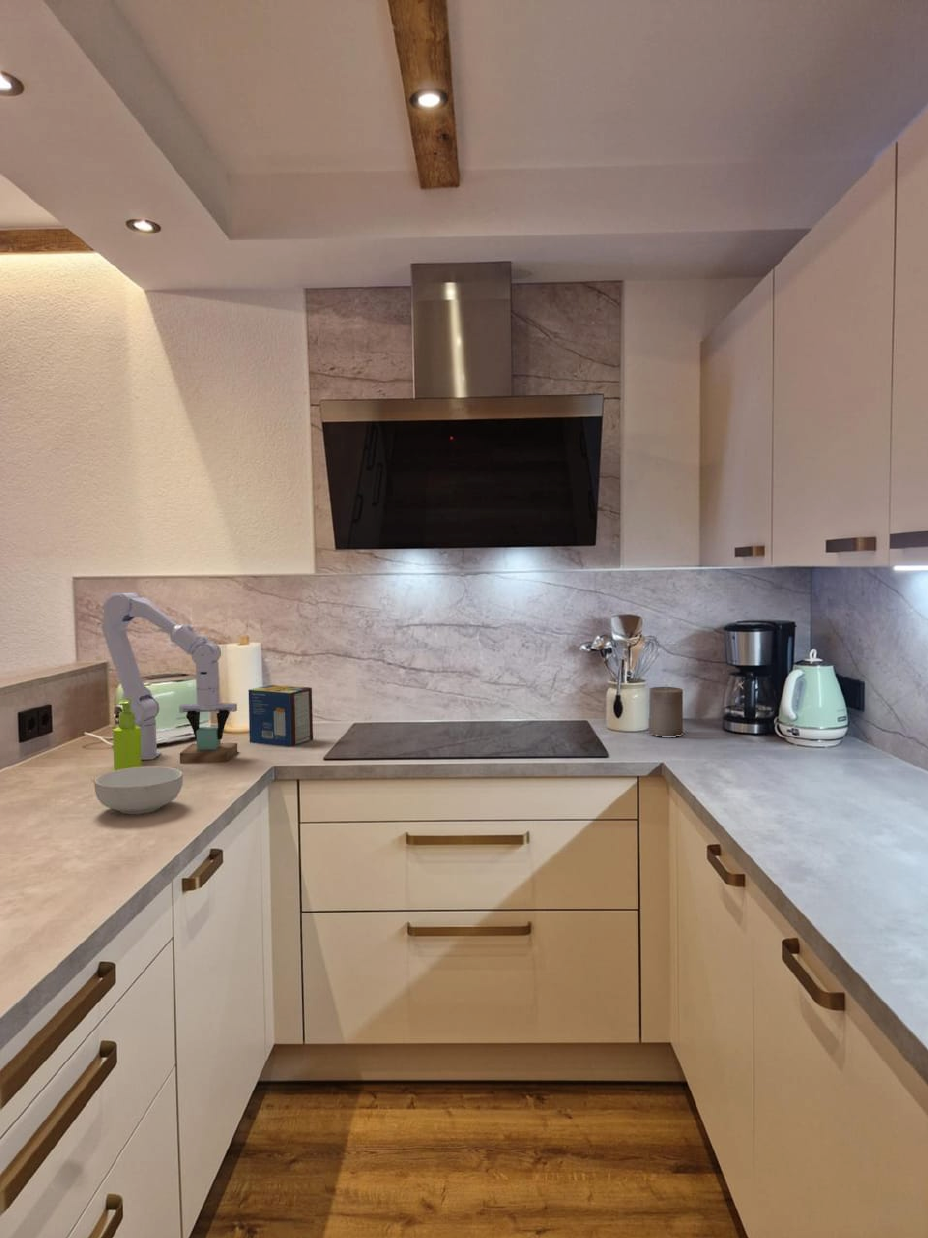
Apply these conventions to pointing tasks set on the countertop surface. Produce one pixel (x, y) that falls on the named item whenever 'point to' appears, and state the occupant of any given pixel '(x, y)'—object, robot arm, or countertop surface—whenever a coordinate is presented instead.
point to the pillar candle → (666, 711)
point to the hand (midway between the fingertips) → (209, 738)
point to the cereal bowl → (138, 788)
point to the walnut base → (208, 754)
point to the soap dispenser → (127, 739)
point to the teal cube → (207, 738)
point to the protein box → (280, 715)
